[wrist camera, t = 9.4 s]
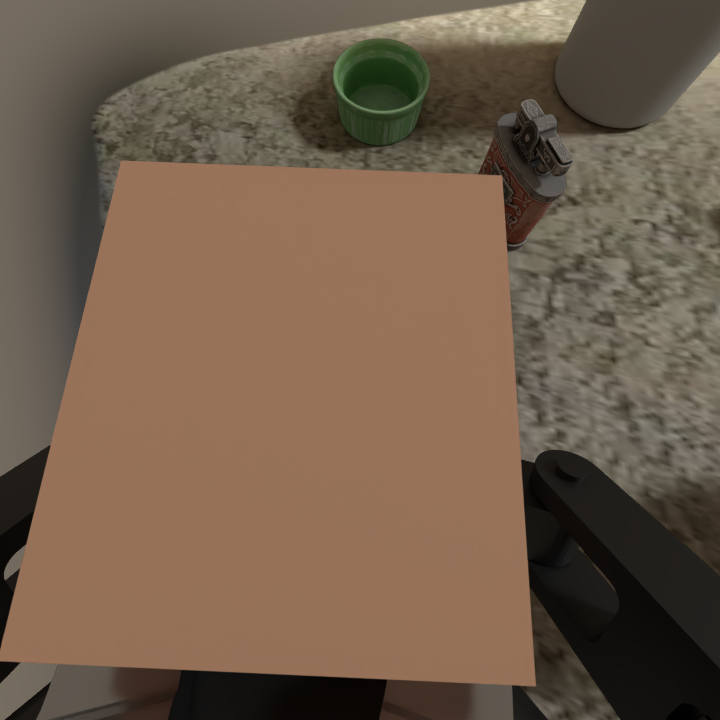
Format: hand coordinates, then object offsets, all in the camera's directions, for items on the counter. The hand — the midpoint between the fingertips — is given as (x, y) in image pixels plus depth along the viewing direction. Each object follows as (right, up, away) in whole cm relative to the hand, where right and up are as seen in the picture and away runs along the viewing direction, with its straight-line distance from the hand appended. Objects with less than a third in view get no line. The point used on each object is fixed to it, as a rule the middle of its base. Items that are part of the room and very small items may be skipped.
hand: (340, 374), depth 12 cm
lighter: (+14, +14, +25) cm, 32 cm away
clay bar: (0, -4, +7) cm, 8 cm away
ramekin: (+3, +25, +28) cm, 38 cm away
